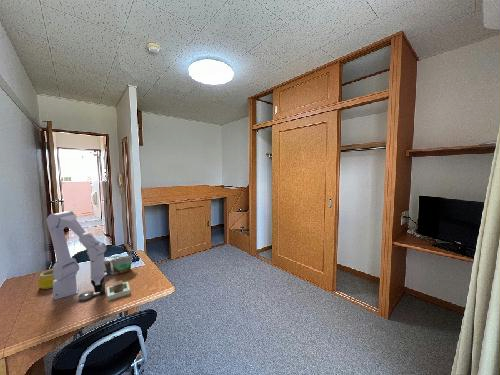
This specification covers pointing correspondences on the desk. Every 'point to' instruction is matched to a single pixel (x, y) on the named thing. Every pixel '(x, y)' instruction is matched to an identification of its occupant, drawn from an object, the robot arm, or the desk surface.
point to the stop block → (118, 286)
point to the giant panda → (108, 266)
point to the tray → (119, 294)
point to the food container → (122, 265)
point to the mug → (46, 279)
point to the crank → (91, 294)
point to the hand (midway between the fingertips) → (98, 291)
